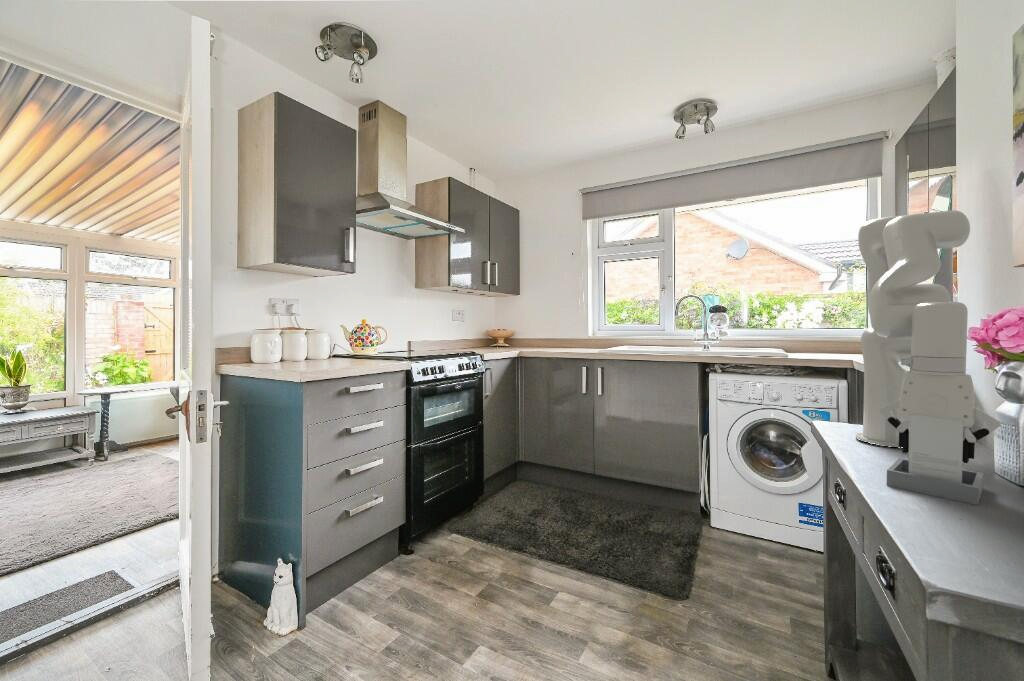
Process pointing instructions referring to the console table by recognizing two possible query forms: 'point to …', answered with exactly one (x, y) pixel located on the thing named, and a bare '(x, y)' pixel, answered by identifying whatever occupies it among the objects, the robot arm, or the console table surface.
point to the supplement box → (936, 447)
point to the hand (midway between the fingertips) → (934, 455)
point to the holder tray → (937, 483)
